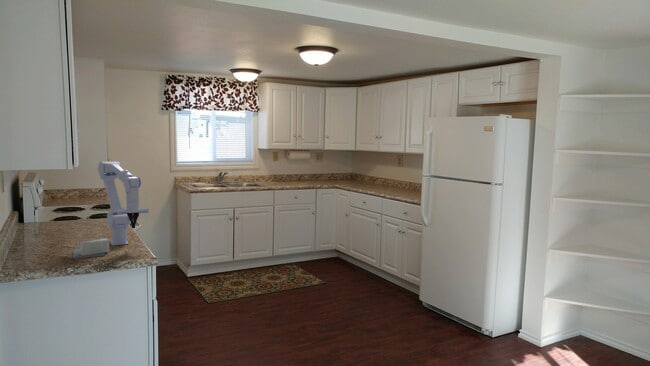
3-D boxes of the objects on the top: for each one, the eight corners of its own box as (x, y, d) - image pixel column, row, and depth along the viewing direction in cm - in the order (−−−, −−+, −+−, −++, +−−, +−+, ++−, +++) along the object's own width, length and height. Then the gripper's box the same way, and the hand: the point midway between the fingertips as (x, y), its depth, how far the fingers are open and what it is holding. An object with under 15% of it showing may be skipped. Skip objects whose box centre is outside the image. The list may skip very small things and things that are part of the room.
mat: (73, 250, 226) (73, 249, 226) (103, 247, 232) (103, 246, 232) (73, 258, 210) (73, 257, 210) (104, 256, 216) (104, 255, 216)
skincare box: (105, 238, 225) (79, 241, 216) (109, 239, 222) (82, 243, 213) (105, 250, 225) (79, 254, 216) (109, 252, 222) (82, 256, 213)
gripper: (117, 202, 223) (117, 230, 224) (149, 201, 229) (149, 228, 231) (116, 200, 229) (117, 227, 230) (147, 199, 236) (148, 225, 237)
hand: (133, 227), depth 231 cm, fingers closed
